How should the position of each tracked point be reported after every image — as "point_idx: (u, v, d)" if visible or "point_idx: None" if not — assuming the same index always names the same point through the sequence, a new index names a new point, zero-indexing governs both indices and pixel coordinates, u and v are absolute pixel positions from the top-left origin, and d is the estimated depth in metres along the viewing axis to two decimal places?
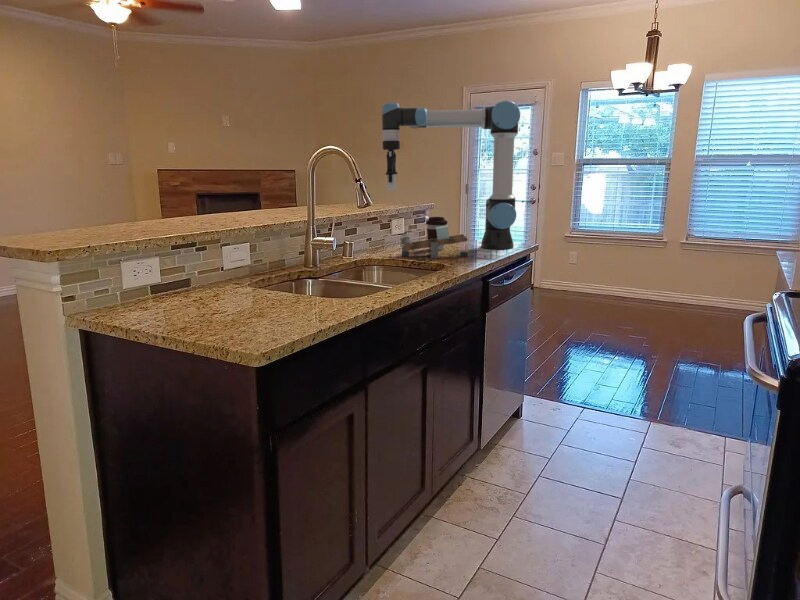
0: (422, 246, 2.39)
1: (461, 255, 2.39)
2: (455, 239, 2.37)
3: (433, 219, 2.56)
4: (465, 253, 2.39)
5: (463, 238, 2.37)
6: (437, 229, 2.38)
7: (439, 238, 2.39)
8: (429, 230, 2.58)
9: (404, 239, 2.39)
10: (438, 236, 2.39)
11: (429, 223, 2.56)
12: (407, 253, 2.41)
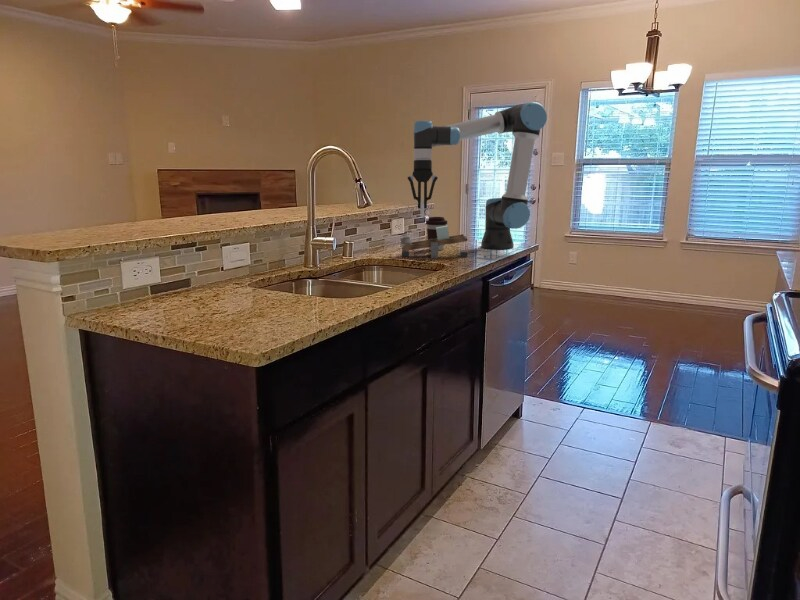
0: (422, 246, 2.39)
1: (461, 255, 2.39)
2: (455, 239, 2.37)
3: (433, 219, 2.56)
4: (465, 253, 2.39)
5: (463, 238, 2.37)
6: (437, 229, 2.38)
7: (439, 238, 2.39)
8: (429, 230, 2.58)
9: (404, 239, 2.39)
10: (438, 236, 2.39)
11: (429, 223, 2.56)
12: (407, 253, 2.41)
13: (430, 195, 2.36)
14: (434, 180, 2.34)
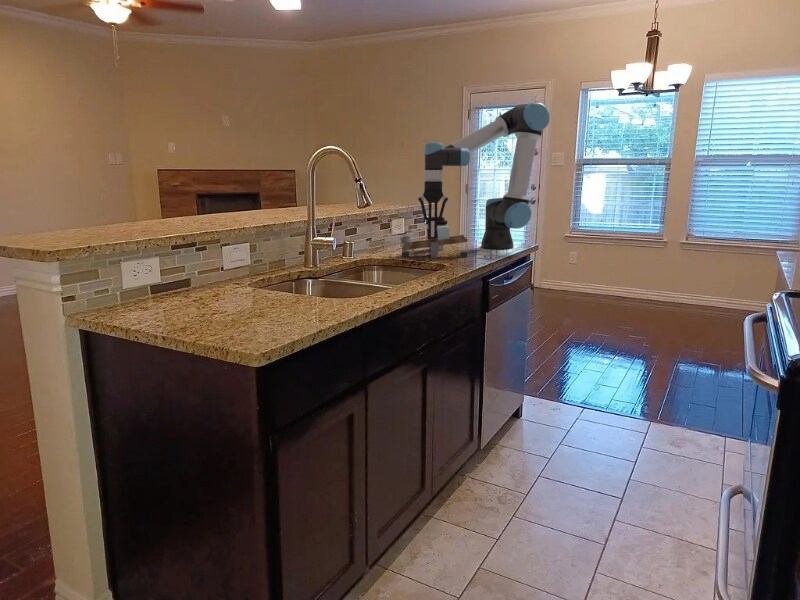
0: (422, 246, 2.38)
1: (461, 255, 2.39)
2: (455, 239, 2.37)
3: (433, 219, 2.56)
4: (465, 253, 2.39)
5: (463, 239, 2.37)
6: (438, 228, 2.38)
7: (439, 238, 2.39)
8: (429, 230, 2.58)
9: (405, 238, 2.39)
10: (438, 235, 2.39)
11: None
12: (407, 253, 2.41)
13: (440, 216, 2.38)
14: (444, 201, 2.36)
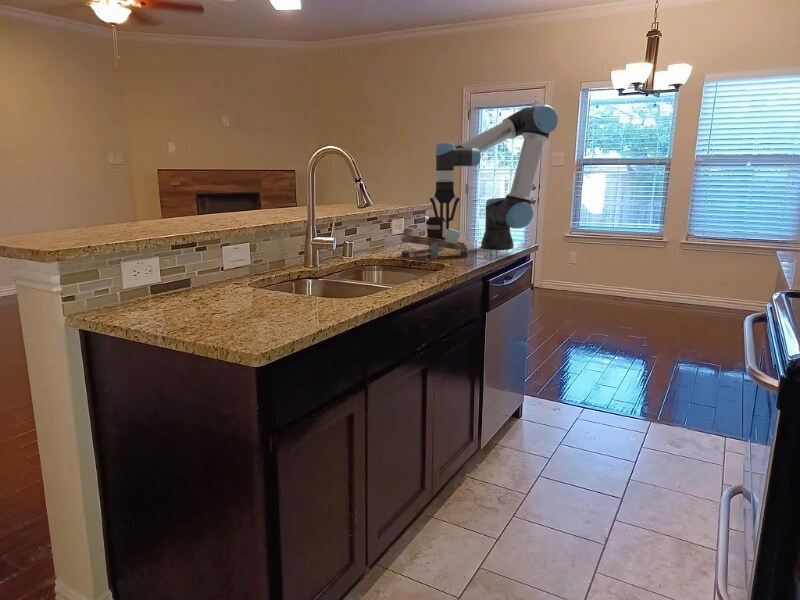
0: (422, 242, 2.38)
1: (461, 255, 2.39)
2: (456, 245, 2.38)
3: (433, 219, 2.56)
4: (465, 253, 2.39)
5: (463, 247, 2.38)
6: (449, 230, 2.38)
7: (447, 239, 2.39)
8: (429, 230, 2.58)
9: (407, 230, 2.38)
10: (447, 237, 2.39)
11: (429, 223, 2.56)
12: (407, 253, 2.41)
13: (452, 216, 2.38)
14: (456, 201, 2.36)
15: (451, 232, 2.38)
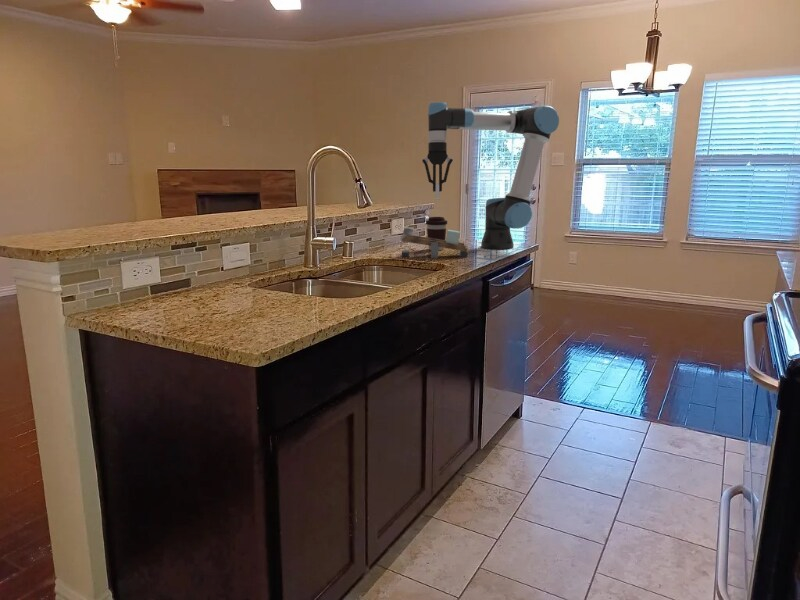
0: (422, 242, 2.38)
1: (461, 255, 2.39)
2: (456, 246, 2.38)
3: (433, 219, 2.56)
4: (465, 253, 2.39)
5: (463, 247, 2.38)
6: (449, 232, 2.38)
7: (448, 241, 2.39)
8: (429, 230, 2.58)
9: (407, 230, 2.38)
10: (448, 239, 2.39)
11: (429, 223, 2.56)
12: (407, 253, 2.41)
13: (445, 178, 2.34)
14: (449, 162, 2.33)
15: (451, 233, 2.38)
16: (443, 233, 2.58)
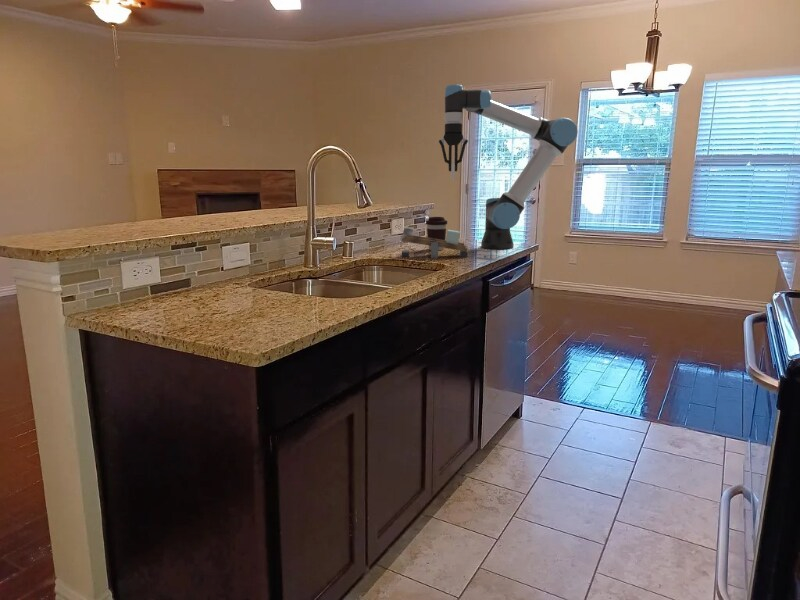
0: (422, 242, 2.38)
1: (461, 255, 2.39)
2: (456, 246, 2.38)
3: (433, 219, 2.56)
4: (465, 253, 2.39)
5: (463, 247, 2.38)
6: (449, 232, 2.38)
7: (448, 241, 2.39)
8: (429, 230, 2.58)
9: (407, 230, 2.38)
10: (448, 239, 2.39)
11: (429, 223, 2.56)
12: (407, 253, 2.41)
13: (461, 158, 2.43)
14: (464, 143, 2.42)
15: (451, 233, 2.38)
16: (443, 233, 2.58)
